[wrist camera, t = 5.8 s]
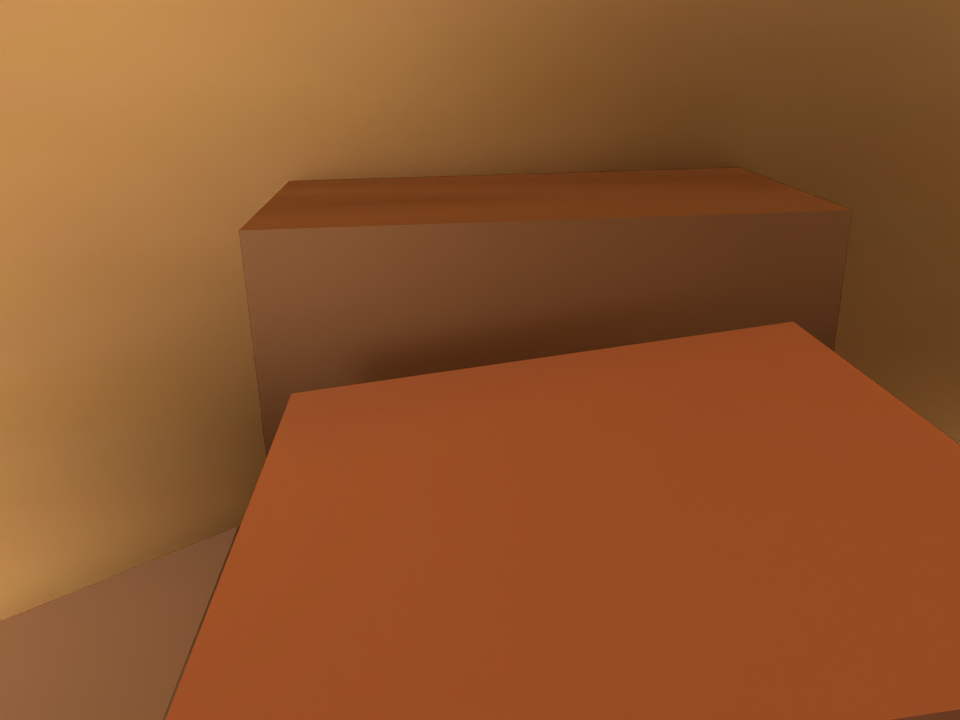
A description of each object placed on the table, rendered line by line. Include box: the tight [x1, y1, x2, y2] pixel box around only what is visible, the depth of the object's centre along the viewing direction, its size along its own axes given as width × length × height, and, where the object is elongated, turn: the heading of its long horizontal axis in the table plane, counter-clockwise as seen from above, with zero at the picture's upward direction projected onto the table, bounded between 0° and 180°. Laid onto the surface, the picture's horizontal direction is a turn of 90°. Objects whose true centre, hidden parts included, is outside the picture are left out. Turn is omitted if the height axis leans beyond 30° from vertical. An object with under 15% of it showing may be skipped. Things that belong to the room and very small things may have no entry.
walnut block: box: [239, 167, 852, 458], centre depth 13 cm, size 7×7×4 cm
